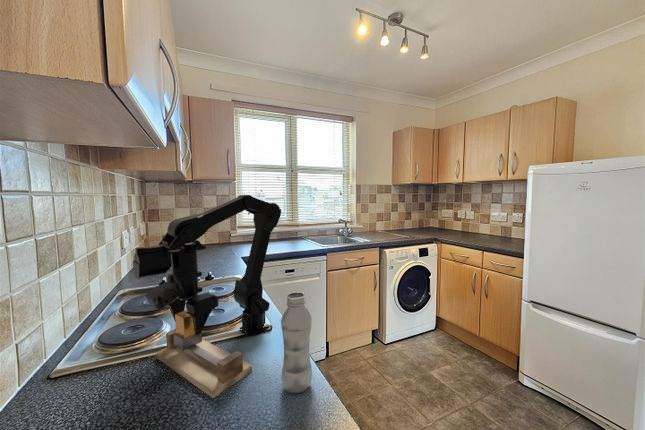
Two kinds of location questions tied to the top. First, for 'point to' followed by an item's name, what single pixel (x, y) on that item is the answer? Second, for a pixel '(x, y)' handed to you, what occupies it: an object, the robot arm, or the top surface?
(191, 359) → the rail board
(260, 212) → the robot arm
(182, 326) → the slider block
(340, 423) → the top surface
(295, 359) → the plastic bottle
